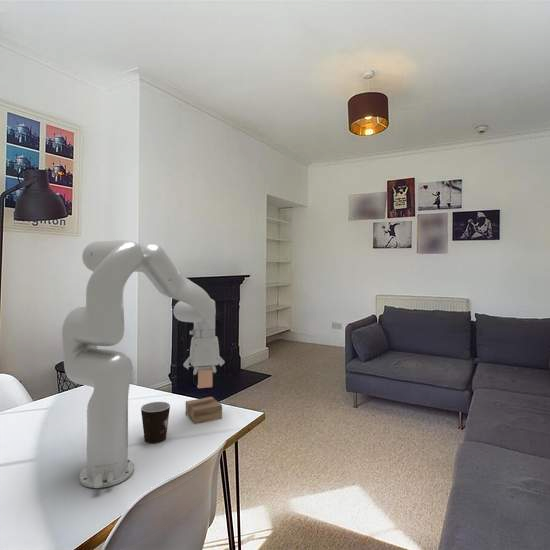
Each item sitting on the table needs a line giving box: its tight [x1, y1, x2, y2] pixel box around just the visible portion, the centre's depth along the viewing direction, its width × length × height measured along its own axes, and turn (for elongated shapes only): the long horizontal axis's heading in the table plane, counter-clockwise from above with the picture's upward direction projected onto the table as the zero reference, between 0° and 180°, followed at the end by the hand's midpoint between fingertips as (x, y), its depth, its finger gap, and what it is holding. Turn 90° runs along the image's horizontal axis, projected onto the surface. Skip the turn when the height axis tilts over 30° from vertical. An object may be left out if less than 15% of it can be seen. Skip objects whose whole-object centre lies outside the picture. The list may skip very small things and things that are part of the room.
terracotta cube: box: [196, 366, 213, 389], centre depth 132 cm, size 5×5×6 cm
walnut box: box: [185, 396, 223, 425], centre depth 132 cm, size 10×10×5 cm
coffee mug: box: [140, 401, 171, 445], centre depth 113 cm, size 12×9×10 cm
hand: (204, 383), depth 132 cm, fingers closed on terracotta cube, 5 cm apart
